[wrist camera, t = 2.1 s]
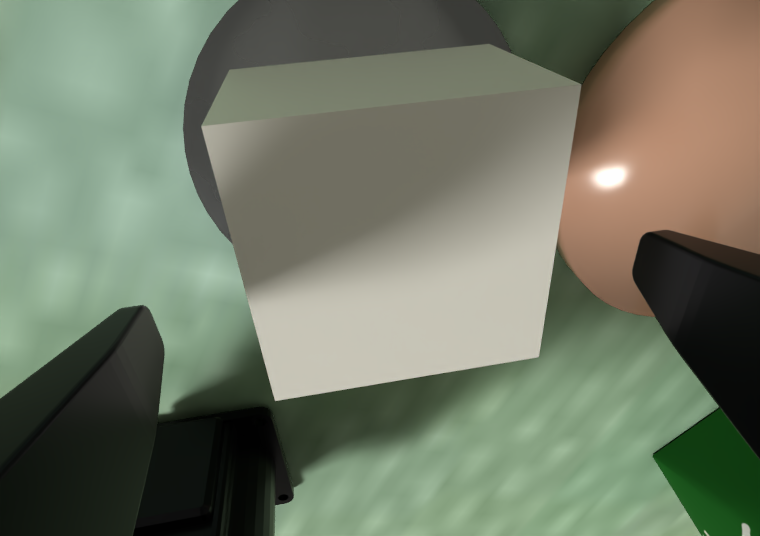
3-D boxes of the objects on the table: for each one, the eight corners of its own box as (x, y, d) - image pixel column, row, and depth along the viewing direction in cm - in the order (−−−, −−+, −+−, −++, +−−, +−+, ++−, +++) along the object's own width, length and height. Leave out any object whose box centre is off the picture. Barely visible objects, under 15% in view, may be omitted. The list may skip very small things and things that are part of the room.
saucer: (804, 276, 22) (829, 292, 21) (528, 320, 21) (540, 339, 20) (984, -78, 15) (1034, -80, 14) (577, -44, 13) (600, -45, 12)
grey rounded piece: (500, 255, 18) (588, 379, 13) (233, 293, 17) (209, 444, 12) (527, -62, 13) (697, -74, 8) (140, -32, 12) (20, -21, 7)
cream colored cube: (477, 259, 15) (539, 357, 11) (278, 288, 14) (274, 401, 11) (489, 43, 11) (581, 84, 8) (229, 69, 11) (200, 126, 7)
